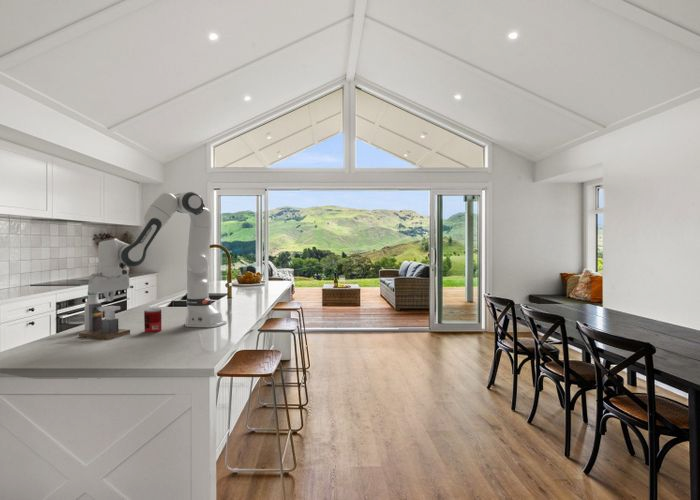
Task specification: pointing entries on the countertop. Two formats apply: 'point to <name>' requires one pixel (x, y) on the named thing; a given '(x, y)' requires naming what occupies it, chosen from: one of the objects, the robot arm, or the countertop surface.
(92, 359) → the countertop surface
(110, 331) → the stand
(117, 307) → the plunger
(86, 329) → the milk bottle
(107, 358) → the countertop surface
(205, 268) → the robot arm
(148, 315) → the canned food
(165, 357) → the countertop surface
